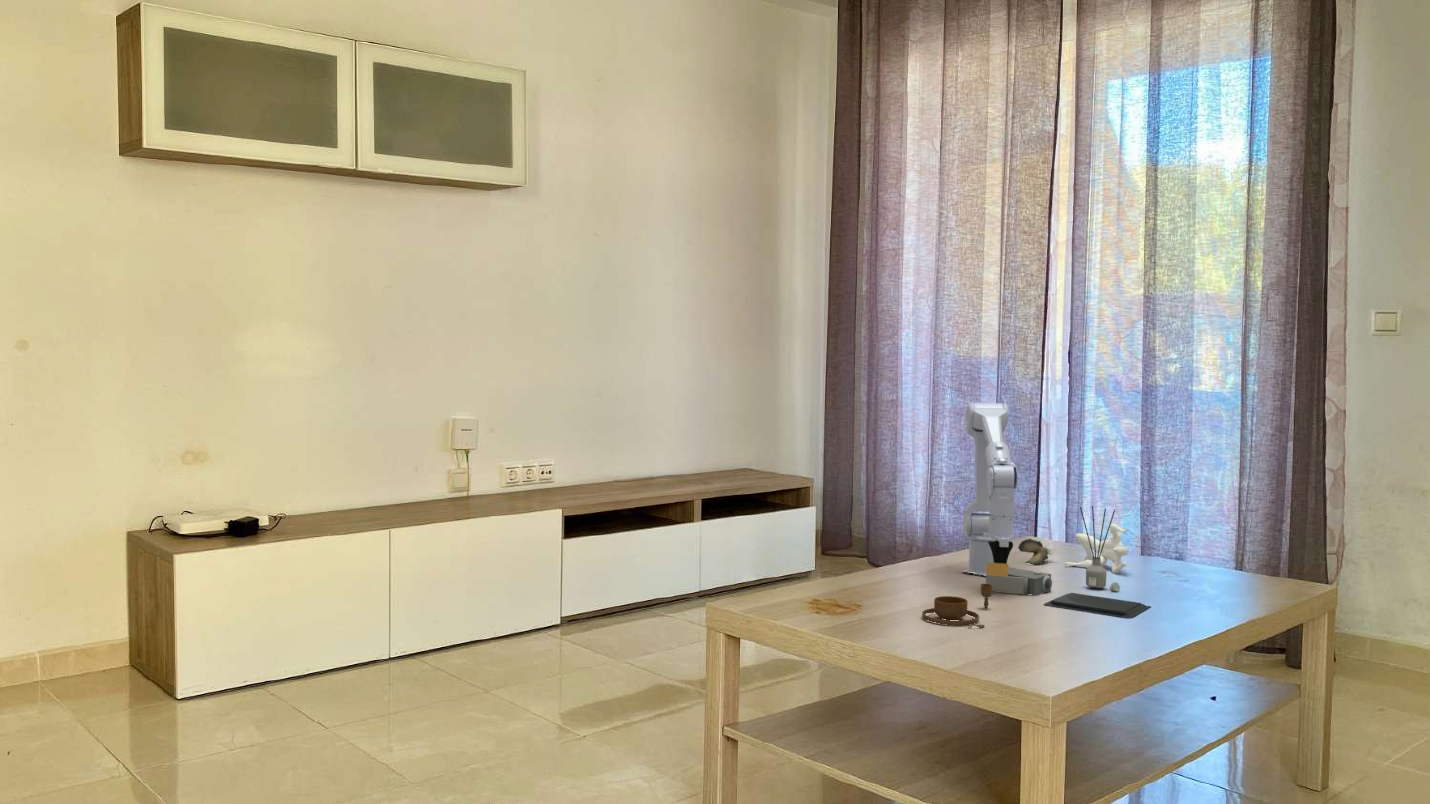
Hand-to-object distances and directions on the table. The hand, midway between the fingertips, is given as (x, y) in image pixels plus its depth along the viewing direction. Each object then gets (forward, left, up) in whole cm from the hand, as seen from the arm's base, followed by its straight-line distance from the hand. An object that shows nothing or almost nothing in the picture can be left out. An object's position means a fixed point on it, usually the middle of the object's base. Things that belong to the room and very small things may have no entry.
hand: (1000, 572), depth 264 cm
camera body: (-6, +2, -5) cm, 8 cm away
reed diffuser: (-22, +15, -5) cm, 27 cm away
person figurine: (-46, +5, -5) cm, 46 cm away
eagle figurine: (-41, -12, -5) cm, 43 cm away
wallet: (-3, +23, -6) cm, 24 cm away
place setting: (+29, +8, -6) cm, 30 cm away
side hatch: (0, +2, -4) cm, 5 cm away
